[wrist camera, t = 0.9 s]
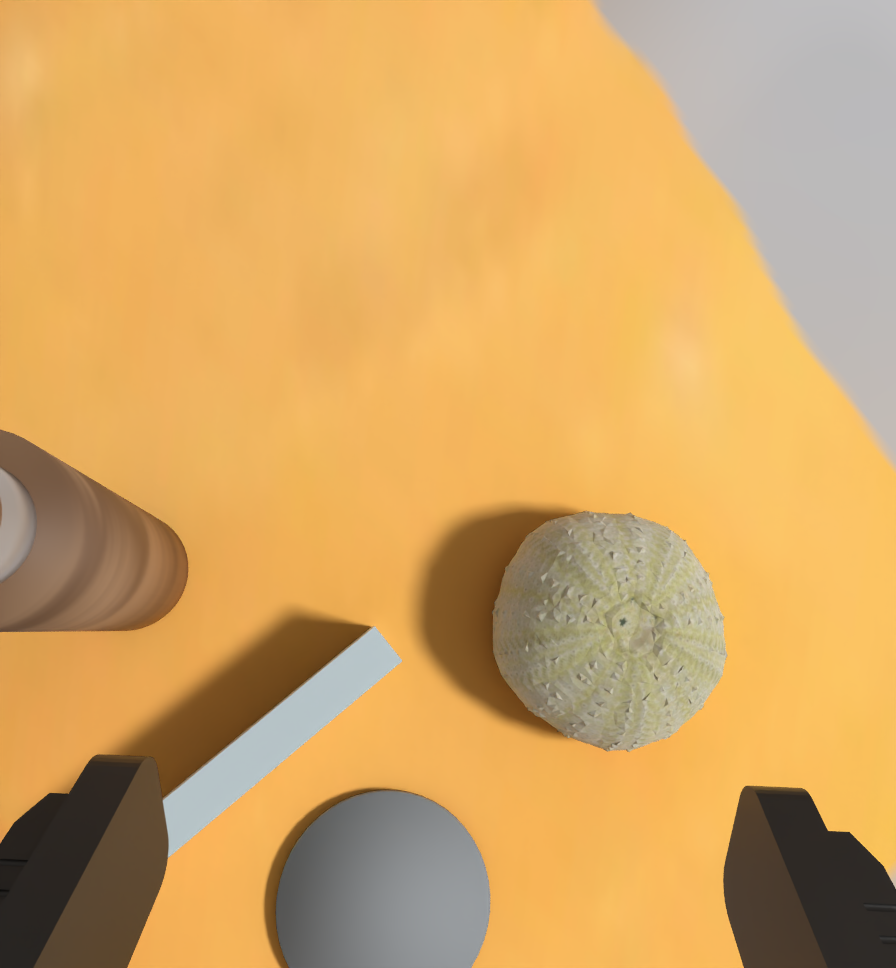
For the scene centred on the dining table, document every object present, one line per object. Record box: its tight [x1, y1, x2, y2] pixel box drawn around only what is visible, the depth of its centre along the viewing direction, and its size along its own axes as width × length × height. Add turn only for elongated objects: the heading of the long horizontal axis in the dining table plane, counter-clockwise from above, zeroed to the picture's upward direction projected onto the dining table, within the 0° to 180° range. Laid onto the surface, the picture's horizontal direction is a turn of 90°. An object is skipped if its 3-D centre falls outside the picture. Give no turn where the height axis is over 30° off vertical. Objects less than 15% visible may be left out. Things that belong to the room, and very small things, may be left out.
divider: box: [162, 626, 402, 857], centre depth 30 cm, size 2×12×3 cm, turn 130°
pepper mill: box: [0, 430, 188, 632], centre depth 23 cm, size 5×5×18 cm
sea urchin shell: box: [492, 511, 727, 752], centre depth 32 cm, size 9×8×8 cm
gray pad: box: [276, 790, 490, 968], centre depth 31 cm, size 8×8×1 cm
